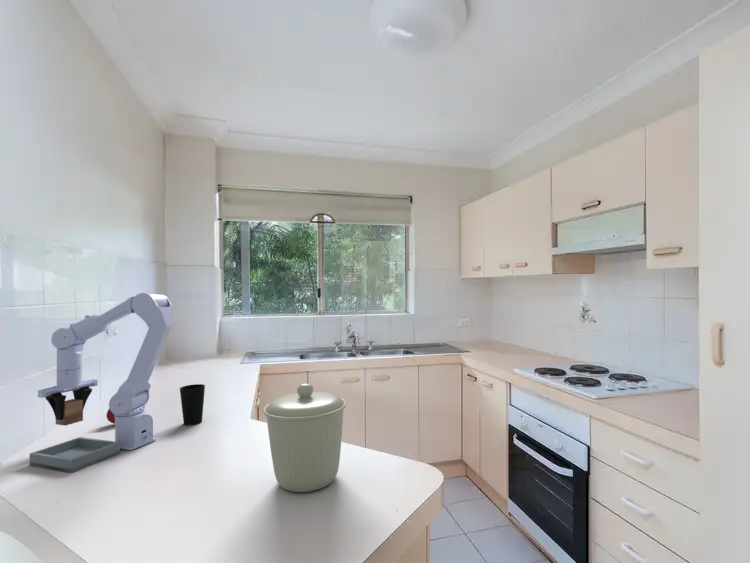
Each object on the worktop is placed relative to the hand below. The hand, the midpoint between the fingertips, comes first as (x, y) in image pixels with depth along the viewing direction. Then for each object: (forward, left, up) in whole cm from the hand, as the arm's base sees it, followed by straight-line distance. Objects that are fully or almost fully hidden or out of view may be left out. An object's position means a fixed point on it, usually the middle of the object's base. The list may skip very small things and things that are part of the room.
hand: (69, 416), depth 109 cm
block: (0, 0, -2) cm, 2 cm away
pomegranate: (+6, -18, -9) cm, 21 cm away
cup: (-19, -26, -9) cm, 34 cm away
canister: (-78, 0, -9) cm, 78 cm away
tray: (-12, +6, -9) cm, 16 cm away
